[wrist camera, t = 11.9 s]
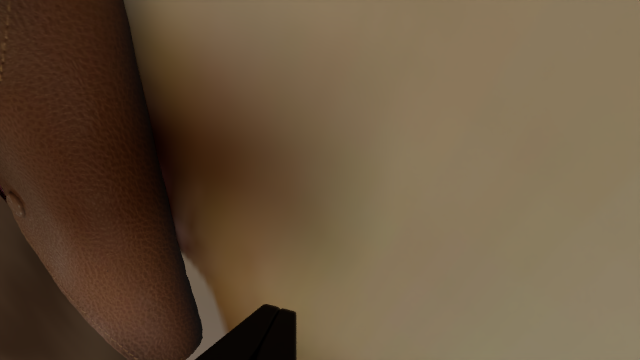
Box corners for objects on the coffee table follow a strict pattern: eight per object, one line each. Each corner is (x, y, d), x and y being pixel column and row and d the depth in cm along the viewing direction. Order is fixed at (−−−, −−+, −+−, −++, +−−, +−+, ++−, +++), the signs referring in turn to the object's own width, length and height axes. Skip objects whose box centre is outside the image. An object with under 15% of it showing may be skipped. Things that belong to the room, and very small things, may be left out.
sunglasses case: (-70, -42, 14) (-249, -70, 8) (131, -44, 16) (96, -68, 10) (81, 310, 22) (43, 418, 16) (204, 282, 24) (207, 372, 18)
